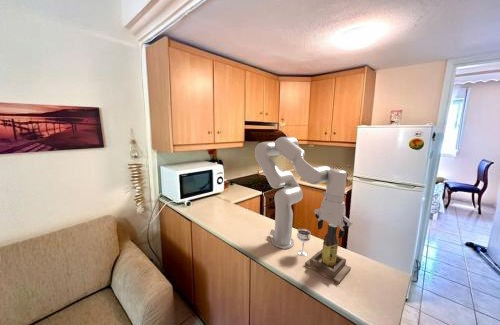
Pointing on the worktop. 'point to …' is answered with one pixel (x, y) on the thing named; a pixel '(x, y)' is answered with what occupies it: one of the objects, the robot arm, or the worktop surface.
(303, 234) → the wineglass
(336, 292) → the worktop surface
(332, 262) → the sauce bottle
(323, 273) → the caddy
